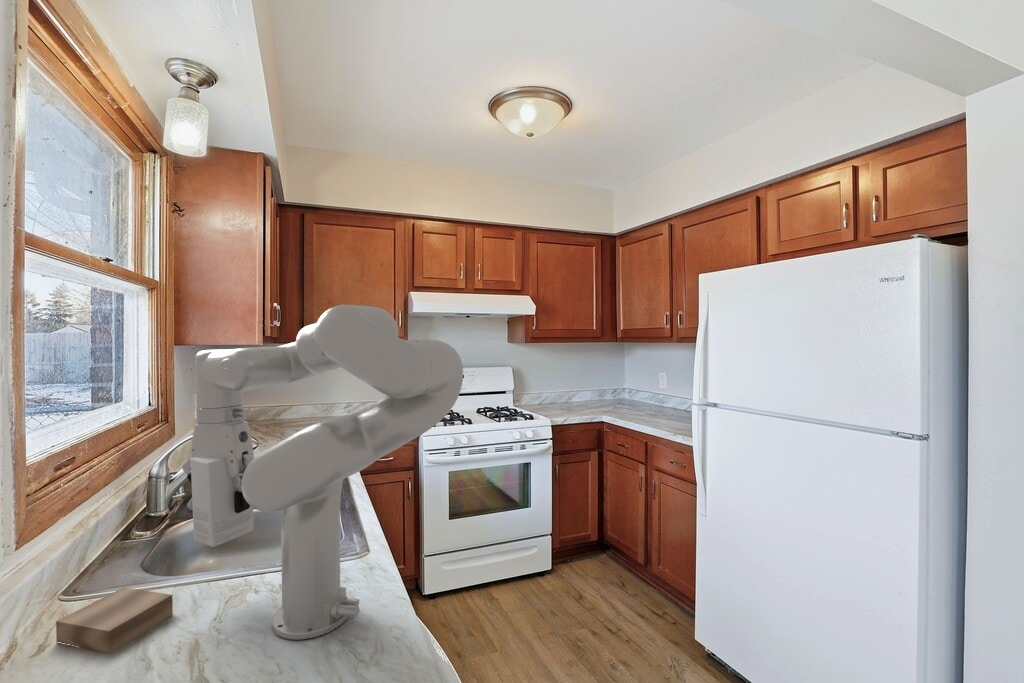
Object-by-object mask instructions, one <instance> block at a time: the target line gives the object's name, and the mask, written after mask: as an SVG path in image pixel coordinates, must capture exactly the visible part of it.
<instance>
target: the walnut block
mask: <svg viewBox="0 0 1024 683" xmlns="http://www.w3.org/2000/svg"><path fill="white" fill-rule="evenodd" d="M173 614H174V613H173V594H168V593H164V592H163V593H162V592H157V591H151V590H150V591H149V590H146V589H145V590H143V589H137V588H131V587H126V586H123V587H121V588H120V589H118V590H116V591H114V592H112V593H110V594H107V595H106V596H104V597H102V598H100V599H97V600H96V601H93V602H92V603H90V604H88V605H86V606H84V607H82V608H80V609H78V610H76V611H74V612H72V613H70V614H68V615H65V616H64V617H62V618H61V619H58V620H56V623H55V624H56V625H55V626H56V627H55V628H56V630H55V631H56V633H55V634H56V643H57V642H61V643H65V644H70V645H74V646H78V647H80V648H79V649H81V648H83V649H82V650H87V651H92V652H97V653H102V654H106V655H107V654H108V655H110V654H112V653H114V652H115V651H116V650H118V649H119V648H121V647H123V646H125V645H126V644H127V643H129V642H131V641H132V640H134V639H136V638H138V637H139V636H141V635H142V634H144V633H146V632H147V631H149V630H150V629H152V628H153V627H155V626H157V625H158V624H160V623H162V622H163V621H165V620H166V619H168V618H170V617H172V616H173Z"/></svg>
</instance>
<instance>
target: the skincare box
mask: <svg viewBox="0 0 1024 683" xmlns="http://www.w3.org/2000/svg"><path fill="white" fill-rule="evenodd" d="M190 459H191V481H192V483H191V498H192V499H191V501H192V522H193V523H192V524H193V526H192V527H193V541H194V542H197V543H199V544H203V545H206V546H208V547H210V548H214V547H217V546H219V545H221V544H222V545H223V544H224V543H227V542H229V541H231V540H234V539H237V538H239V537H241V536H245V535H247V534H249V533H251V532H254V531H255V523H254V522H255V519H254V517H255V516H254V508H253V507H252V506H250V508H249V509H246V510H244V511H242V512H240V513H235V505H234V493H235V491H238V490H237V488H236V487H235V485H234V483H233V481H232V479H231V478H228V477H227V473H226V466H225V460H224V459H222V458H203V457H194V458H192V457H191V458H190ZM244 469H246V466H245V465H244V464H243V463H242V466H241V469H240V471H239V473H241V472H243V471H244ZM242 477H243V476H241V477H240V479H241V481H242Z"/></svg>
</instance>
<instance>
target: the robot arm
mask: <svg viewBox="0 0 1024 683" xmlns="http://www.w3.org/2000/svg"><path fill="white" fill-rule="evenodd" d="M339 368H342V369H343V370H345V371H346V372H348V373H350V374H351V375H353V376H354V377H356V378H358V379H359V380H360V381H362V382H363V383H365V384H367V385H368V386H370V387H372V388H373V389H375V390H376V391H378V392H380V393H382V394H383V395H384V396H383V397H381V398H379V399H378V400H377V401H375V402H374V403H372V404H370V405H368V406H366V407H365V408H362V409H360V410H359V411H357V412H353V413H351V414H350V413H349V414H346V415H342V416H339V417H338V416H337V417H334V418H331V419H328V420H324V421H323V420H322V421H320V422H316V423H314V424H310V425H309V426H307V427H304V428H302V429H300V430H299V431H296V432H295V433H293V434H291V435H290V436H288V437H286V438H284V439H283V440H281V441H280V442H277V443H276V444H274V445H273V446H270V447H269V448H267V449H265V450H264V451H262V452H261V453H259V454H257V455H256V456H254V447H253V439H252V433H251V428H250V426H249V423H248V420H244V418H245V417H246V416H247V415H248V411H247V409H244V395H243V393H244V391H250V390H255V389H261V388H267V387H270V388H271V387H277V386H282V385H286V384H291V383H294V382H298V381H301V380H304V379H308V378H312V377H315V376H317V375H320V374H323V373H326V372H329V371H333V370H337V369H339ZM194 375H195V376H194V378H195V379H194V381H195V382H194V383H195V407H196V409H195V411H196V412H195V413H196V415H195V416H196V424H195V423H194V428H193V434H192V441H191V458H194V457H203V458H222V459H224V460H225V466H226V473H227V477H228V478H231V479H232V481H233V483H234V485H235V487H236V488H237V490H238V491H235V493H234V505H235V513H240V512H242V511H244V510H246V509H249V508H250V506H252V507H253V509H255V510H256V511H259V512H263V513H270V514H271V513H278V512H282V511H283V512H282V517H281V525H280V526H281V528H280V530H281V536H280V537H281V538H280V540H281V550H280V551H281V553H280V554H281V608H279V609H278V610H277V611H276V612H275V614H274V615H273V618H272V624H271V625H272V627H271V628H272V631H273V632H274V634H276V635H277V636H278V637H281V638H283V639H286V640H296V641H298V640H307V639H308V638H309V639H313V637H314V638H316V637H317V638H318V637H321V636H323V635H326V634H328V633H330V632H332V631H334V630H336V629H337V628H339V627H340V626H341V625H342V624H343V623H345V621H346V620H347V619H357V617H358V616H359V613H360V606H359V605H360V599H359V598H349V597H348V596H347V587H343V586H342V587H341V537H340V536H341V535H340V534H341V499H342V489H343V485H344V484H343V483H344V479H346V478H349V477H351V476H352V475H355V474H357V473H359V472H361V471H363V470H365V469H366V468H368V467H369V466H371V465H372V464H374V463H375V462H377V461H378V460H379V459H382V458H383V457H384V456H386V455H388V454H390V453H392V452H394V451H396V450H398V449H399V448H401V447H403V446H404V445H406V444H408V443H410V442H411V441H413V440H415V439H416V438H418V437H420V436H422V435H423V434H425V433H427V432H428V431H429V430H431V429H432V428H433V427H435V426H436V425H438V424H439V423H440V422H441V421H442V420H443V419H444V418H445V417H446V416H447V415H448V414H449V412H450V411H451V410H452V408H453V407H454V406H455V405H456V404H455V403H456V402H457V400H458V398H459V396H460V393H461V390H462V386H463V380H464V367H463V362H462V359H461V357H460V354H459V352H458V351H457V350H456V348H454V347H453V346H451V345H450V344H449V343H447V342H444V341H441V340H436V339H409V340H407V339H406V340H405V339H403V338H400V337H399V326H398V324H397V321H396V320H395V319H394V316H392V314H390V313H389V312H388V311H387V310H385V309H384V308H380V307H377V306H371V305H370V306H369V305H356V304H339V305H336V306H335V305H334V306H333V307H330V308H329V309H327V310H325V311H324V312H323V313H322V314H321V315H320V317H319V318H318V320H317V322H315V323H311V324H309V325H305V326H304V327H303V328H301V329H300V330H299V331H298V334H297V335H296V339H295V341H294V342H290V343H286V344H282V345H277V346H259V347H257V346H256V347H240V348H239V347H238V348H229V349H227V348H226V349H225V348H221V349H220V348H218V349H214V348H213V349H205V350H200V351H198V352H197V353H196V355H195V357H194ZM191 458H190V459H188V460H187V461H186V462H185V463H184V464H183V465H182V466H181V467H182V468H181V469H182V470H183V472H184V473H185V475H186V476H187V477H186V478H187V480H188V481H189V482H190V483H191V484H192V481H191ZM242 463H243V464H244V465H245V466H246V469H244V471H243V472H241V473H239V471H240V469H241V466H242ZM241 476H243V477H242V481H241V479H240V477H241ZM338 626H339V627H338ZM335 628H336V629H335ZM325 633H326V634H325ZM320 635H321V636H320Z"/></svg>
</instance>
